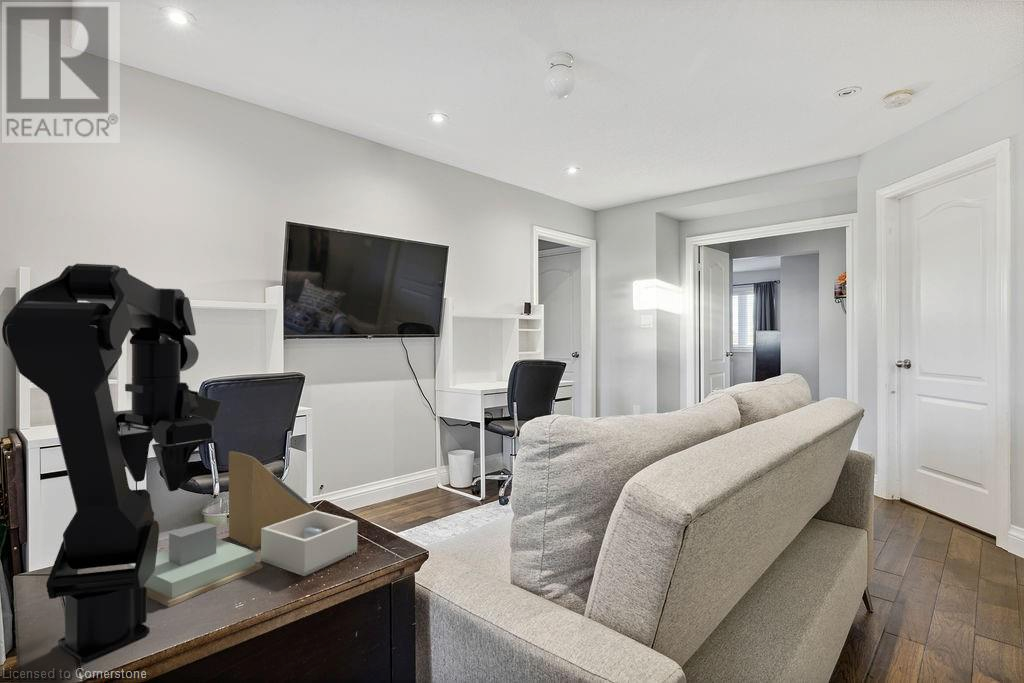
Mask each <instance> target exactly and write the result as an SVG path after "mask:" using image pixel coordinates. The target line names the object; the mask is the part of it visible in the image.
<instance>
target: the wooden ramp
mask: <svg viewBox="0 0 1024 683" xmlns="http://www.w3.org/2000/svg"><path fill="white" fill-rule="evenodd" d="M314 510H316V511H319V510H318V509H316V508H315V507H314V506H313V505H311V504H310V503H309V502H308V501H306V500H305V499H304V498H303V497H302V496H300V494H298V493H297V492H296V491H295V490H293V489H292V488H291V487H290V486H288V485H287V484H286V483H284V482H283V481H282V480H281V479H280V478H279V477H277V476H276V475H275V474H274V473H273V472H272V471H270V469H269V468H267V467H266V466H265V465H263V464H262V462H260V461H259V460H258V459H256V457H254V456H251V455H249V454H246V453H243V452H238V451H233V450H230V451H229V452H228V538H231V539H233V540H234V541H237V542H239V543H240V544H242V545H245V546H247V547H248V548H251V549H254V548H255V549H256V548H258V547H261V528H264V527H267V526H270V525H273V524H276V523H279V522H282V521H285V520H288V519H291V518H294V517H297V516H300V515H303V514H306V513H309V512H311V511H314Z"/></svg>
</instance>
